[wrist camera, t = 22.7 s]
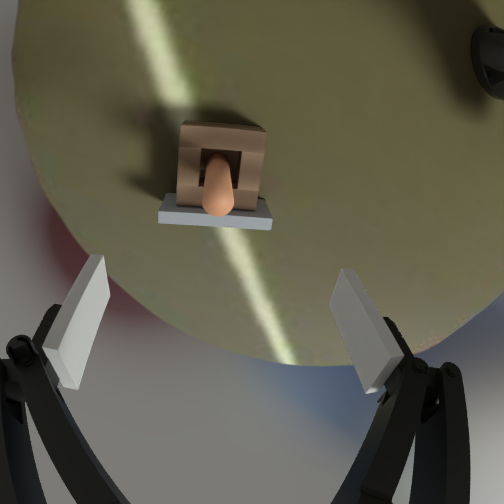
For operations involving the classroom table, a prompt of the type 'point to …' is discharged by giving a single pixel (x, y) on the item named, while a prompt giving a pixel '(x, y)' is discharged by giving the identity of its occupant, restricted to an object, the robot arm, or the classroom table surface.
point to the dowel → (218, 186)
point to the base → (199, 216)
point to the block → (230, 144)
